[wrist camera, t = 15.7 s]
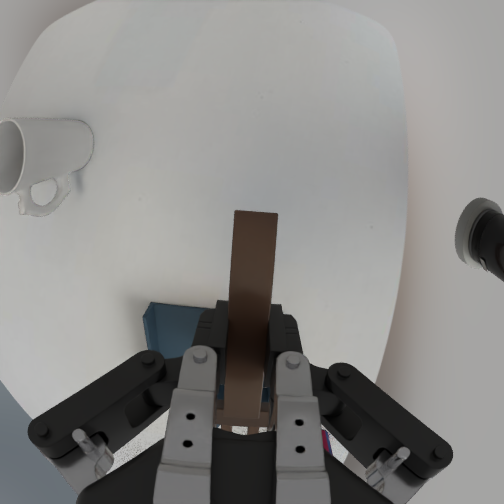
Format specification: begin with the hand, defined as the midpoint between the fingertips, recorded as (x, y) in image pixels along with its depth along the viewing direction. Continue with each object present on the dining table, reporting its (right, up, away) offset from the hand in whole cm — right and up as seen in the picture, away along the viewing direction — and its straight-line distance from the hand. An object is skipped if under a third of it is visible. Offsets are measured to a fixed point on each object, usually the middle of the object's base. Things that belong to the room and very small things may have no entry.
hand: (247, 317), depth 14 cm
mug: (-21, +14, +13) cm, 28 cm away
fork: (0, -3, +1) cm, 3 cm away
